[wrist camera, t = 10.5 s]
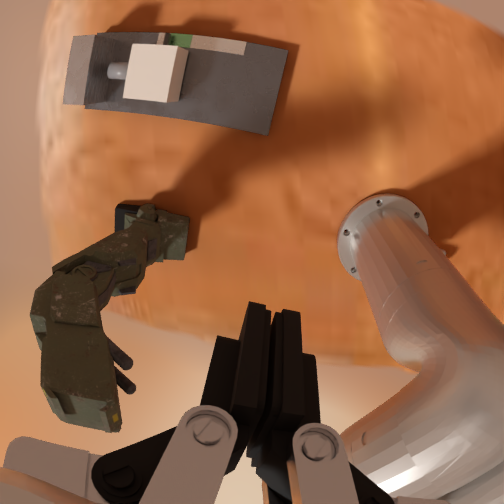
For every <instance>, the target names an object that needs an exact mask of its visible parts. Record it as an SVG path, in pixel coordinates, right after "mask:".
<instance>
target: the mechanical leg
mask: <svg viewBox="0 0 504 504" xmlns="http://www.w3.org/2000/svg"><path fill="white" fill-rule="evenodd" d="M189 221H190V218H189V217H186V216H181V215H177V214H172V213H168V212H167V211H165V210H161V209H158V210H156V209H155V205H152V204H148V203H147V204H145V205H143V206H137V205H126V204H118V205H117V206H116V208H115V233H113V234H111V235H109V236H107V237H106V238H104V239H102V240H100V241H98V242H96V243H95V244H93V245H91V246H89V247H87V248H86V249H84V250H82V251H80V252H79V253H77V254H75V255H72V256H70V257H68V258H66V259H64V260H62V261H61V262H59V263H58V264H56V265H55V266H53V267H52V271H53V275H52V276H51V277H49V278H48V279H47V280H46V281H45V282H44V283H43V284H42V285H41V286H40V287H38V288H37V289H36V290H35V294H34V298H33V303H32V307H31V312H30V318H31V321H32V325H33V328H34V332H35V335H36V338H37V342H38V345H39V348H40V350H41V351H42V353H41V354H42V355H41V387H42V390H43V392H44V394H45V396H46V398H47V400H48V403H49V405H50V407H51V409H52V411H53V413H55V414H56V415H57V416H58V417H59V419H60V420H62V421H64V422H66V423H70V424H74V425H78V426H83V427H88V428H93V429H98V430H103V431H105V432H109V433H112V432H119V431H120V429H121V425H122V418H121V411H120V405H119V398H118V390H117V385H118V386H120V388H122V389H123V390H124V391H125V392H126V393H127V394H133V393H134V392H135V391H136V385H135V384H134V383H133V382H131V381H130V380H129V379H128V378H127V377H126V376H125V375H124V374H122V373H121V372H120V371H119V370H118V369H117V368H116V367H115V366H114V361H115V362H116V363H117V364H118V365H119V366H120V367H121V368H122V369H123V370H129V369H131V368H132V366H133V360H132V359H131V358H130V357H129V356H128V355H127V354H125V353H124V352H123V351H122V350H121V349H120V348H119V347H118V346H116V345H115V344H114V343H113V342H112V341H111V340H110V339H109V338H108V337H107V336H106V335H105V333H104V331H103V327H102V321H101V315H100V311H101V310H102V309H103V308H104V307H105V306H106V305H107V304H108V302H109V300H110V297H111V296H114V297H115V296H119V295H127V294H136V289H137V288H138V286H139V285H140V283H141V282H142V280H143V279H144V276H145V269H146V267H147V266H149V265H152V264H153V263H154V262H163V259H168V260H184V257H185V251H186V250H185V249H186V243H187V235H188V228H189V227H188V226H189ZM113 360H114V361H113Z"/></svg>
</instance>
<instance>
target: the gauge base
mask: <svg viewBox="0 0 504 504" xmlns="http://www.w3.org/2000/svg"><path fill="white" fill-rule="evenodd" d="M164 37H165V33H152V32H108V33H97V35H83V36H73V41H72V46H71V51H70V56H69V62H68V68H67V75H66V82H65V89H64V98H63V104H72V105H85V109H97V110H110V111H120V112H130V113H139V114H148V115H156V116H163V117H170V118H177V119H184V120H190V121H196V122H202V123H208V124H213V125H219V126H224V127H229V128H234V129H239V130H244V131H249V132H253V133H258V134H262V135H267V136H268V134H269V129H270V125H271V121H272V117H273V112H274V108H275V104H276V100H277V96H278V92H279V87H280V83H281V79H282V75H283V71H284V67H285V62H286V58H287V54H288V50H284V49H280V48H275V47H270V46H265V45H260V44H255V43H249V42H244V41H238V40H231V39H224V38H216V37H208V36H199V35H190V34H177V33H171V38H170V43H169V45H171V46H179V47H181V48H183V49H186V50H188V51H189V52H188V56H187V61H186V66H185V70H184V75H183V80H182V85H181V90H180V96H179V101H178V102H168V103H166V102H158V101H149V100H139V99H128V98H123V93H124V87H125V81H126V80H125V79H109V78H108V75H107V71H108V67H109V65H110V63H112V62H129V59H130V54H131V49H132V44H155V45H163V41H164Z"/></svg>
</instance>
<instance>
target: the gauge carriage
mask: <svg viewBox="0 0 504 504" xmlns="http://www.w3.org/2000/svg"><path fill="white" fill-rule="evenodd" d="M170 38H171V33H165V37H164V41H163V45H155V44H132V49H131V54H130V59H129V62H112V63H110V65H109V67H108V71H107V75H108V78H109V79H125V80H126V81H125V87H124V93H123V98H128V99H139V100H149V101H158V102H166V103H168V102H178V101H179V96H180V90H181V85H182V80H183V75H184V70H185V66H186V61H187V56H188V52H189V51H188V50H186V49H183V48H181V47H179V46H171V45H169V43H170Z"/></svg>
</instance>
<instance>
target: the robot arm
mask: <svg viewBox="0 0 504 504" xmlns="http://www.w3.org/2000/svg"><path fill="white" fill-rule="evenodd" d="M378 200H379V202H378V203H377V201H378ZM415 212H416V213H415ZM414 213H415V214H414ZM346 229H347V231H344V230H346ZM337 249H338V254H339V257H340V260H341V263H342V264H343V266H344V268H345V269H346V271H347V272H348V273H349V274H350V275H351V276H353V277H354V278H356V279H357V280H360V281H361V282H362V284H363V287H364V290H365V292H366V295H367V298H368V301H369V303H370V306H371V309H372V312H373V315H374V318H375V320H376V323H377V326H378V329H379V332H380V335H381V338H382V341H383V343H384V345H385V348H386V350H387V351H388V353H389V354H390V355H391V357H392V358H393V359H394V360H395V361H397V362H398V363H399V364H401V365H403V366H405V367H406V368H409V369H411V370H414V371H417V372H419V374H418V375H417V376H416V377H415V378H414V379H413V380H412V381H411V382H410V383H408V384H407V385H406V386H405V387H403V388H402V389H401V390H400V391H399V392H398V393H397V394H395V395H394V396H393V397H391V398H390V399H389V400H387V401H386V402H384V403H383V404H382V405H380V406H379V407H377V408H376V409H375V410H373V411H372V412H370V413H369V414H367V415H366V416H364V417H363V418H361V419H360V420H358V421H357V422H355V423H354V424H353V425H351V426H350V427H349V428H347V429H346V430H345V431H344V432H342V433H341V434H340V435H339V434H338V433H337V432H336V431H335V430H334V429H333V428H331V427H329V426H327V425H324V424H321V422H320V407H319V393H318V381H317V368H316V359H315V356H314V355H311V354H305V353H302V334H301V317H300V312H296V311H291V310H287V309H283V310H282V312H281V313H279V312H276V313H275V315H274V318H273V321H272V324H271V311H270V310H266V305H264V304H259V303H254V302H250V301H249V303H248V307H247V310H246V314H245V318H244V322H243V325H242V329H241V333H240V336H239V340H235V339H231V338H226V337H222V336H218V335H217V339H216V343H215V347H214V351H213V355H212V359H211V363H210V367H209V371H208V375H207V379H206V383H205V387H204V391H203V395H202V399H201V403H200V406H197V407H193V408H191V409H190V410H188V411H187V412H185V414H184V415H183V416H182V418H181V420H180V422H179V424H178V426H176V427H174V428H171V429H169V430H167V431H165V432H162V433H160V434H157V435H155V436H153V437H150V438H147V439H145V440H143V441H140V442H137V443H135V444H132V445H130V446H127V447H124V448H122V449H119V450H116V451H113V452H111V453H108V454H106V455H104V456H102V455H95V454H90V453H89V451H85V450H80V449H76V448H71V447H66V446H62V445H57V444H53V443H49V442H45V441H42V440H38V439H34V438H31V437H19V438H15V439H14V440H13V441H12V442H10V444H9V446H8V448H7V452H6V456H5V460H4V464H3V467H0V504H214V502H215V499H216V496H217V494H218V491H219V488H220V485H221V482H222V479H223V477H224V476H225V475H226V474H228V473H230V472H231V471H233V470H235V468H236V466H237V464H238V462H239V460H240V458H241V456H242V454H243V452H244V450H245V448H246V446H247V453H246V456H247V457H249V458H252V464H251V466H252V467H256V474H257V475H258V476H259V477H260V478H261V479H262V491H263V501H264V504H504V325H503V324H502V322H501V321H500V320H499V319H498V318H497V317H496V316H495V315H494V314H493V313H492V312H491V311H490V309H489V308H488V307H487V306H486V305H485V303H484V302H483V301H482V300H481V299H480V297H479V296H478V295H477V294H476V293H475V291H474V290H473V289H472V288H471V286H470V285H469V284H468V282H467V281H466V280H465V279H464V277H463V276H462V275H461V274H460V272H459V271H458V270H457V269H456V268H455V266H454V265H453V264H452V263H451V262H450V260H449V259H448V258H447V257H446V251H445V250H443V249H440V248H439V247H438V246H437V245H436V244H435V243H434V242H433V241H432V239H431V238H430V237H429V234H428V225H427V222H426V219H425V217H424V215H423V213H422V212H421V210H420V209H419V208H418V207H417V206H416V205H415V204H414V203H413V202H412V201H410V200H408V199H407V198H405V197H403V196H400V195H397V194H388V193H387V194H378V195H374V196H371V197H369V198H367V199H365V200H363V201H361V202H360V203H358V204H357V205H356V206H354V207H353V208H352V209H351V210H350V212H349V213H348V214H347V215H346V217H345V218H344V220H343V221H342V224H341V226H340V229H339V232H338V237H337ZM353 267H354V268H353ZM270 326H271V327H270Z"/></svg>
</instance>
